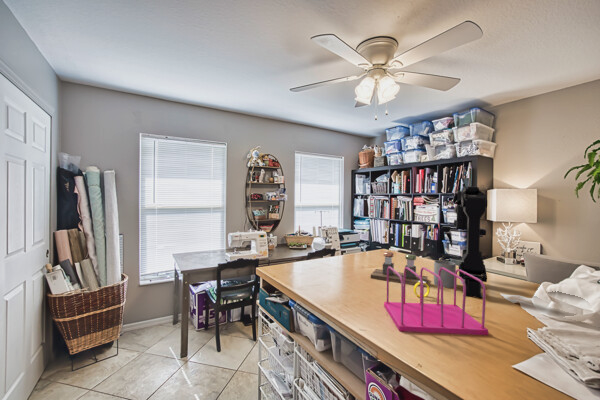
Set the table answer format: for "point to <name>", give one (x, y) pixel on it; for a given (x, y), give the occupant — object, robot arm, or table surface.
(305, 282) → the table surface
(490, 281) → the table surface
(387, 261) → the terracotta plunger
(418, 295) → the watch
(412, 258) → the olive plunger
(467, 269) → the robot arm
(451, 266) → the cup
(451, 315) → the file sorter
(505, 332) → the table surface
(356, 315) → the table surface
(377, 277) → the dark brown stand
